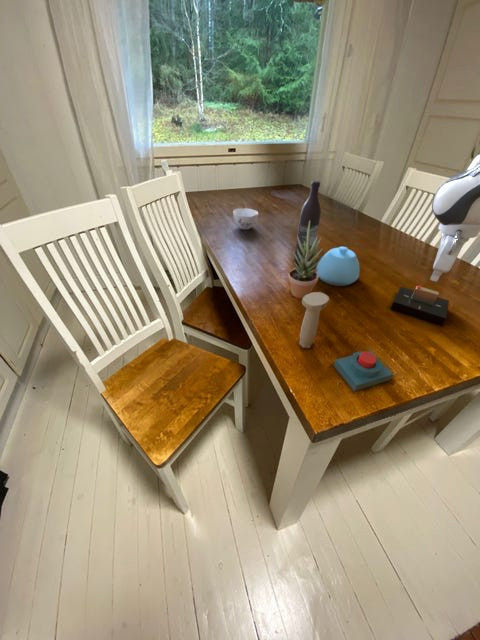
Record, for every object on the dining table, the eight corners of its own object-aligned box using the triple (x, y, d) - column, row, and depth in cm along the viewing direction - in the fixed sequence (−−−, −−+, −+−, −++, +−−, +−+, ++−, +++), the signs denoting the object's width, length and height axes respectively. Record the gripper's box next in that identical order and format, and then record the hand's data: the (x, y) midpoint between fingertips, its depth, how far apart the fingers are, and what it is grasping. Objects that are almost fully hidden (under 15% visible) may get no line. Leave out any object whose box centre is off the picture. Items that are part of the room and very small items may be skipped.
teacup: (253, 233, 133) (254, 217, 128) (229, 230, 136) (229, 214, 131) (261, 223, 145) (262, 207, 140) (239, 220, 148) (239, 205, 142)
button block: (367, 356, 70) (372, 345, 67) (390, 380, 64) (396, 368, 61) (333, 365, 67) (337, 354, 64) (354, 391, 61) (359, 380, 59)
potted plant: (291, 283, 97) (302, 212, 82) (317, 290, 94) (334, 217, 78) (281, 297, 90) (291, 222, 75) (309, 305, 87) (325, 228, 71)
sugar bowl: (330, 264, 109) (336, 235, 102) (364, 278, 100) (374, 248, 93) (307, 276, 101) (312, 246, 94) (342, 292, 93) (351, 262, 85)
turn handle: (433, 302, 83) (439, 291, 81) (432, 305, 82) (438, 293, 79) (411, 296, 86) (417, 284, 83) (410, 299, 85) (416, 287, 82)
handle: (320, 345, 72) (333, 299, 63) (302, 355, 70) (313, 308, 60) (307, 335, 76) (318, 289, 66) (290, 344, 73) (298, 297, 63)
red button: (366, 355, 65) (369, 350, 64) (377, 366, 62) (379, 361, 61) (354, 359, 64) (356, 353, 63) (364, 370, 61) (366, 365, 60)
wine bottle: (291, 265, 108) (302, 182, 89) (296, 257, 113) (308, 178, 94) (308, 268, 106) (324, 184, 87) (312, 261, 111) (328, 180, 92)
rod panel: (444, 308, 86) (449, 300, 84) (441, 326, 79) (446, 317, 77) (397, 293, 93) (400, 286, 91) (390, 309, 86) (393, 301, 84)
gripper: (474, 241, 61) (444, 292, 70) (476, 216, 74) (450, 262, 83) (442, 234, 64) (417, 285, 73) (449, 212, 77) (427, 257, 86)
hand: (435, 273), depth 78 cm, fingers open, 8 cm apart
